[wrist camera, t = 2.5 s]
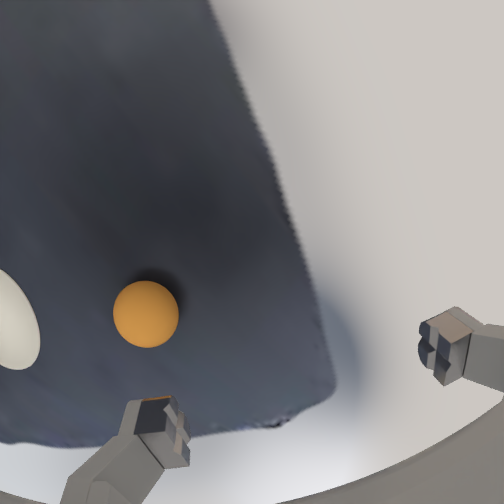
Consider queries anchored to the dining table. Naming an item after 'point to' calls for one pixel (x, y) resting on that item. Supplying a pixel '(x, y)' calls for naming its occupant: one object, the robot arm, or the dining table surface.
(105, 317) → the dining table surface
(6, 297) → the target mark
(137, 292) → the ball
